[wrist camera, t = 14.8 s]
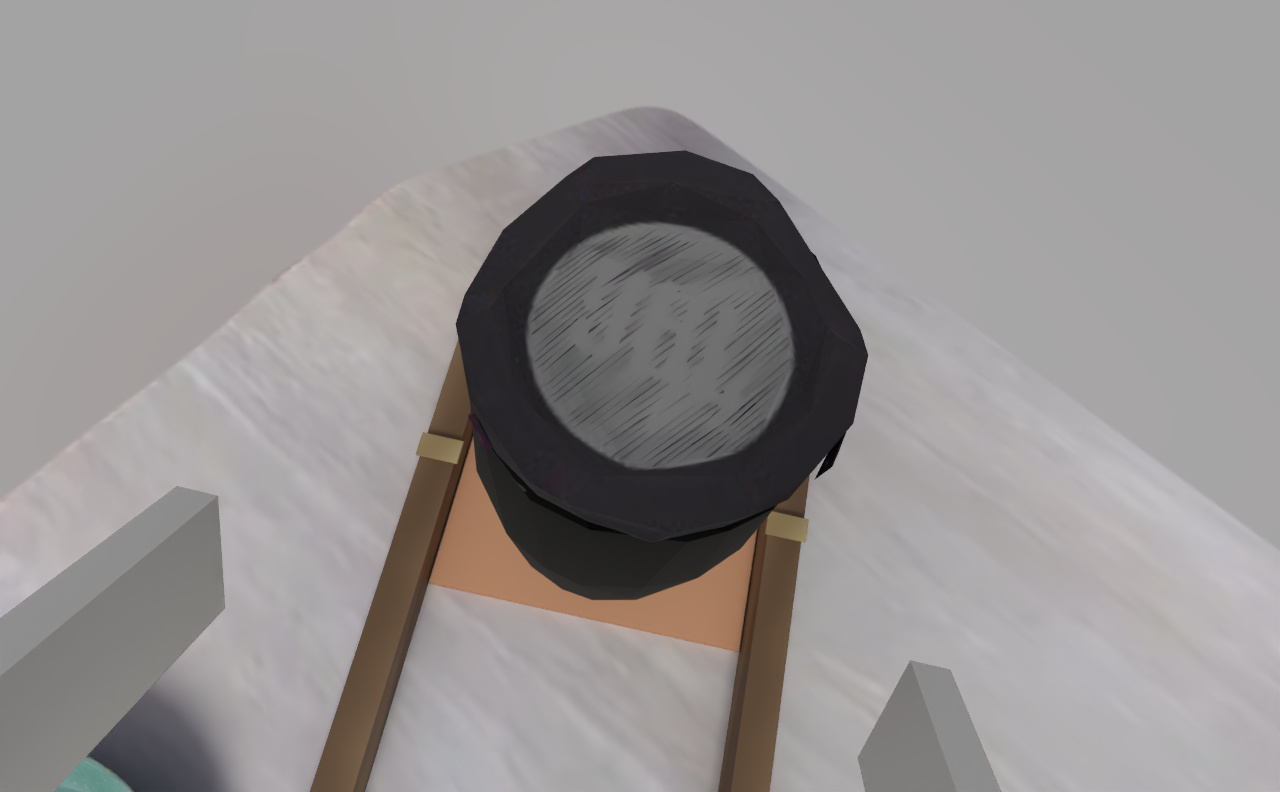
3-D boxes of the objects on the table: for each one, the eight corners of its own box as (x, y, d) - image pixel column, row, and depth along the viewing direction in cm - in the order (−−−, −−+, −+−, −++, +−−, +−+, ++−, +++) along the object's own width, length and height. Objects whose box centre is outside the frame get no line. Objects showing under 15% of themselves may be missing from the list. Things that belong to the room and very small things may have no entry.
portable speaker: (504, 596, 29) (378, 553, 11) (534, 393, 32) (475, 86, 14) (699, 614, 30) (901, 602, 11) (710, 413, 33) (883, 141, 14)
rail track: (813, 371, 34) (828, 355, 32) (717, 1105, 25) (730, 1150, 22) (481, 295, 34) (475, 273, 32) (250, 1008, 24) (220, 1045, 22)
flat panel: (771, 419, 33) (773, 417, 33) (736, 651, 30) (738, 651, 29) (499, 356, 33) (498, 354, 33) (430, 583, 29) (429, 583, 29)
